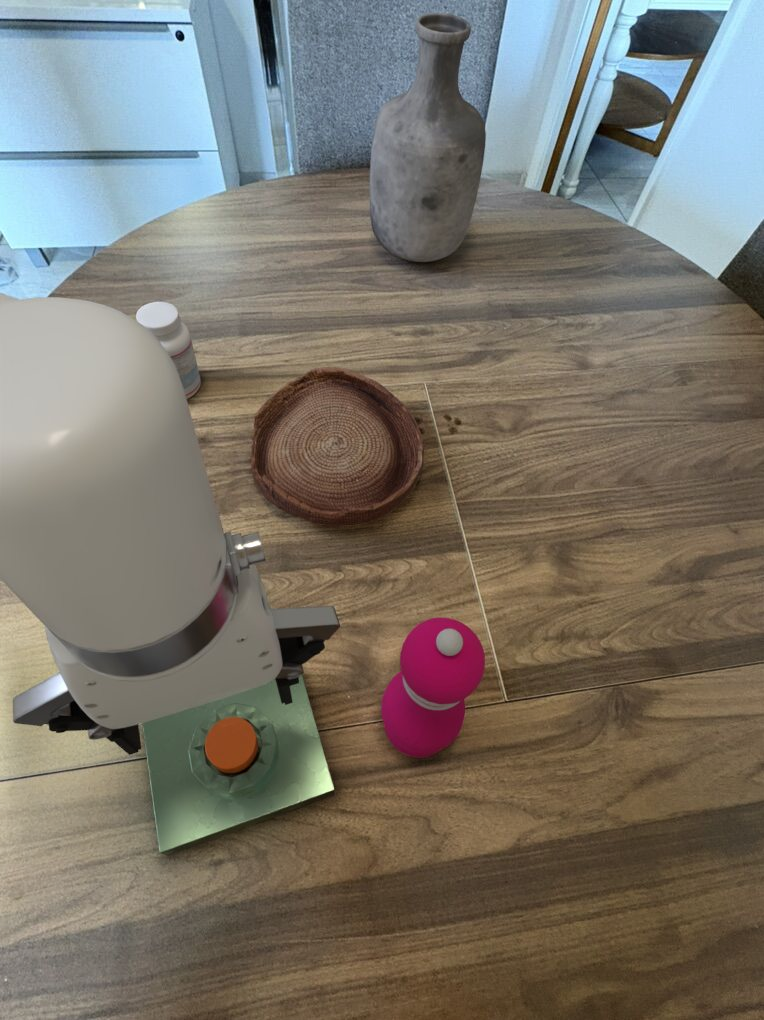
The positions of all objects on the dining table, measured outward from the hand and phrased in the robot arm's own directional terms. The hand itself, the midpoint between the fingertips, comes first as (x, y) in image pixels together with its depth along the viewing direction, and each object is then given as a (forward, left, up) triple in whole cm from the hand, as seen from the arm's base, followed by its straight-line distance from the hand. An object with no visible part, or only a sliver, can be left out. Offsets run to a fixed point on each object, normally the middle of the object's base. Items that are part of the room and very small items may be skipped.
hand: (209, 705), depth 40 cm
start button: (0, 0, -12) cm, 12 cm away
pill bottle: (+2, +47, -17) cm, 50 cm away
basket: (+18, +30, -17) cm, 39 cm away
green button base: (0, 0, -16) cm, 16 cm away
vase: (+43, +68, -17) cm, 82 cm away
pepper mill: (+16, -2, -17) cm, 23 cm away
